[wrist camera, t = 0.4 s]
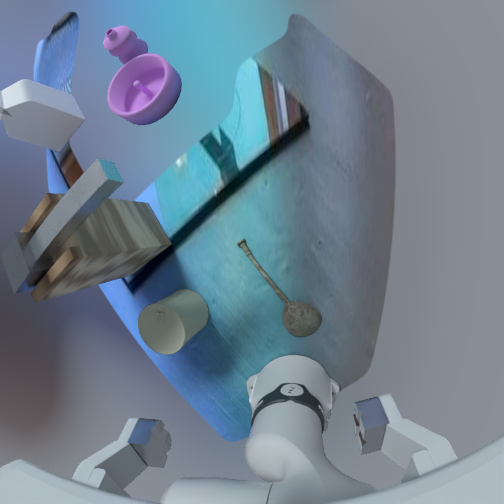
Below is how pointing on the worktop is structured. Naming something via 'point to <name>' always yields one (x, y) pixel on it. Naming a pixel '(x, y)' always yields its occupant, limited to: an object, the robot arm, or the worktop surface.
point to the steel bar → (58, 226)
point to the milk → (39, 114)
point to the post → (99, 246)
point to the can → (173, 321)
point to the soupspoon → (291, 306)
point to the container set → (140, 79)
